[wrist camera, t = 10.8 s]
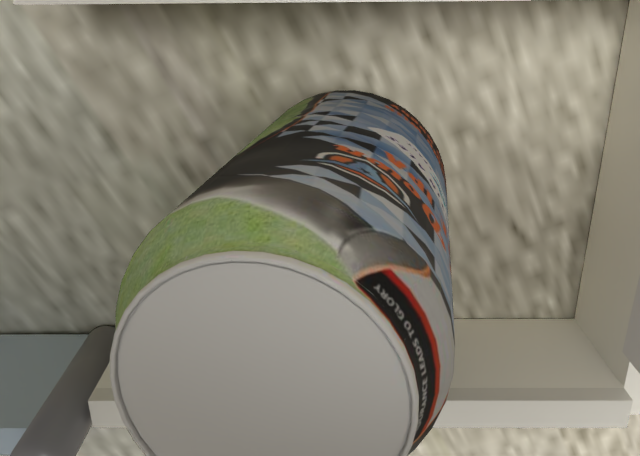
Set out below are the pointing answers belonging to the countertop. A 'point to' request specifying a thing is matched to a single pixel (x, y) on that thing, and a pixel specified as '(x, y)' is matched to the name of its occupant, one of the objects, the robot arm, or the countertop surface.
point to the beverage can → (296, 295)
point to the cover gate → (49, 390)
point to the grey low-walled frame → (537, 334)
